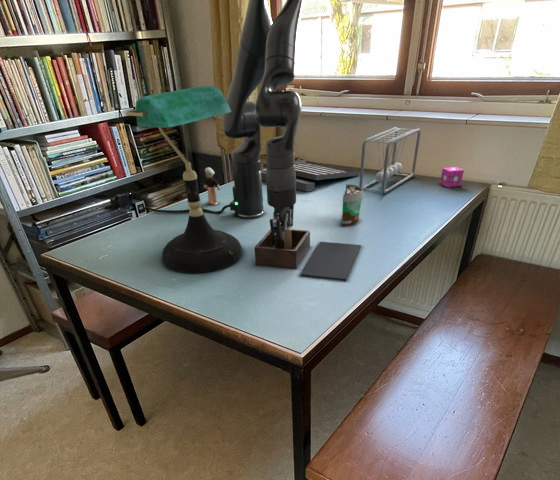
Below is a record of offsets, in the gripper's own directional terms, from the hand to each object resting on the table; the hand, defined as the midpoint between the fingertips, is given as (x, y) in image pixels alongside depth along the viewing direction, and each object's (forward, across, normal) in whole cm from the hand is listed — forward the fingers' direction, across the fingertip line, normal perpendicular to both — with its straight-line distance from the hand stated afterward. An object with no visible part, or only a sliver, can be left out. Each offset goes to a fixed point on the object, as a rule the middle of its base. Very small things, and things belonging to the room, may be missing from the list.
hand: (283, 248), depth 118 cm
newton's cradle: (+2, -76, +20) cm, 79 cm away
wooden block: (+2, 0, 0) cm, 2 cm away
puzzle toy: (+2, -78, +44) cm, 90 cm away
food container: (+2, -31, +14) cm, 34 cm away
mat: (+2, 0, +14) cm, 14 cm away
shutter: (+2, -80, -15) cm, 81 cm away
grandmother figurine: (+2, -39, -40) cm, 56 cm away
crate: (+2, 0, 0) cm, 2 cm away
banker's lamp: (+2, +5, -23) cm, 24 cm away
